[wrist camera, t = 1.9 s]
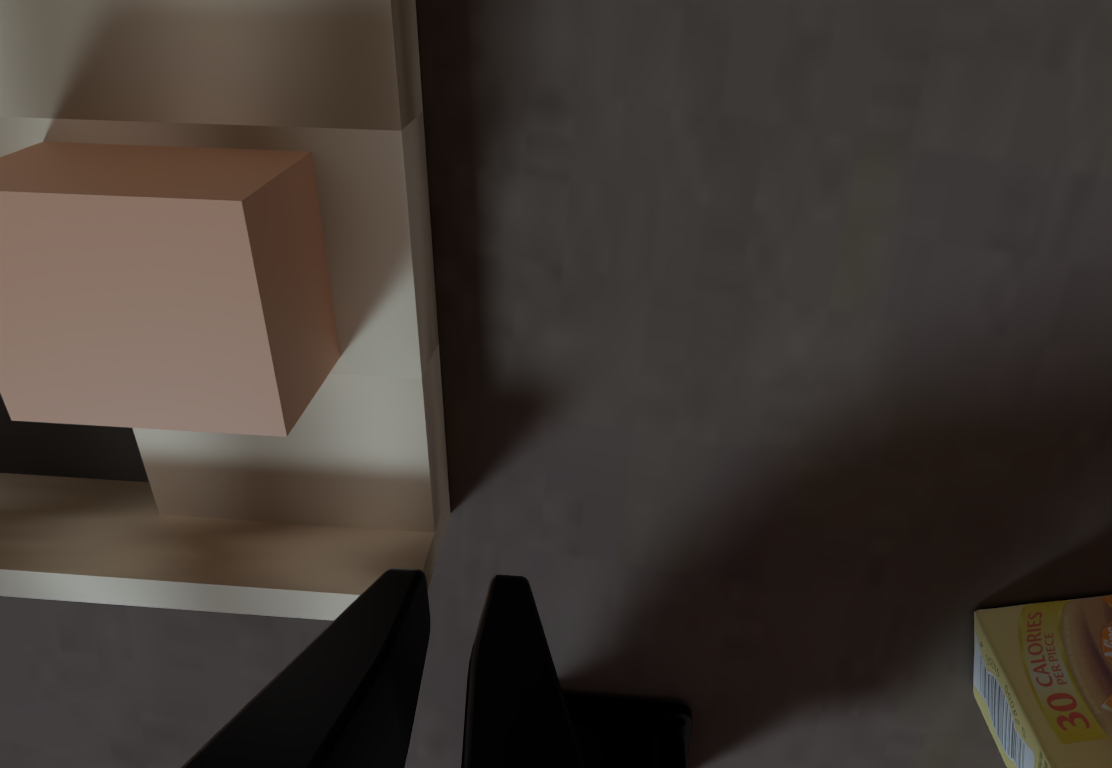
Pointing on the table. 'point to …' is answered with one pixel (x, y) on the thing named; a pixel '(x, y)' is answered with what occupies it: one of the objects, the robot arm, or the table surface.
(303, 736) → the robot arm
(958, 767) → the table surface
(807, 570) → the table surface
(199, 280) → the block
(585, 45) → the table surface
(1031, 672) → the candy box
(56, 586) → the shallow wooden tray
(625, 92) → the table surface
